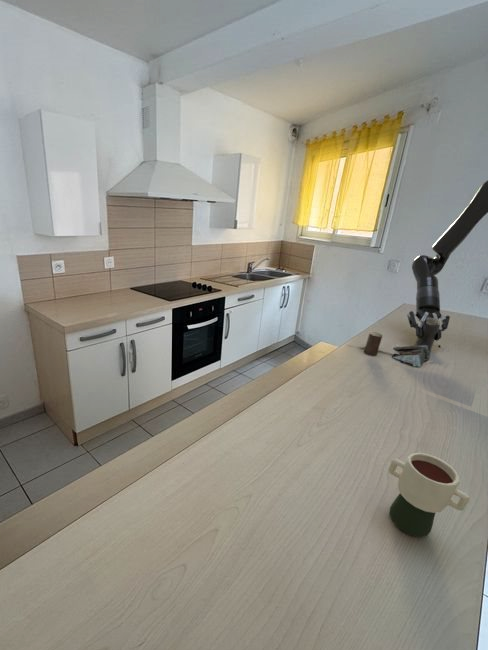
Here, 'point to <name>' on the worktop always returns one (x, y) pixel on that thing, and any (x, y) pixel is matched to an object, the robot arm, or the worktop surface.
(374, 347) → the cylinder
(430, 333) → the pepper mill
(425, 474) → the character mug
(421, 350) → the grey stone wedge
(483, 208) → the robot arm
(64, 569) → the worktop surface
